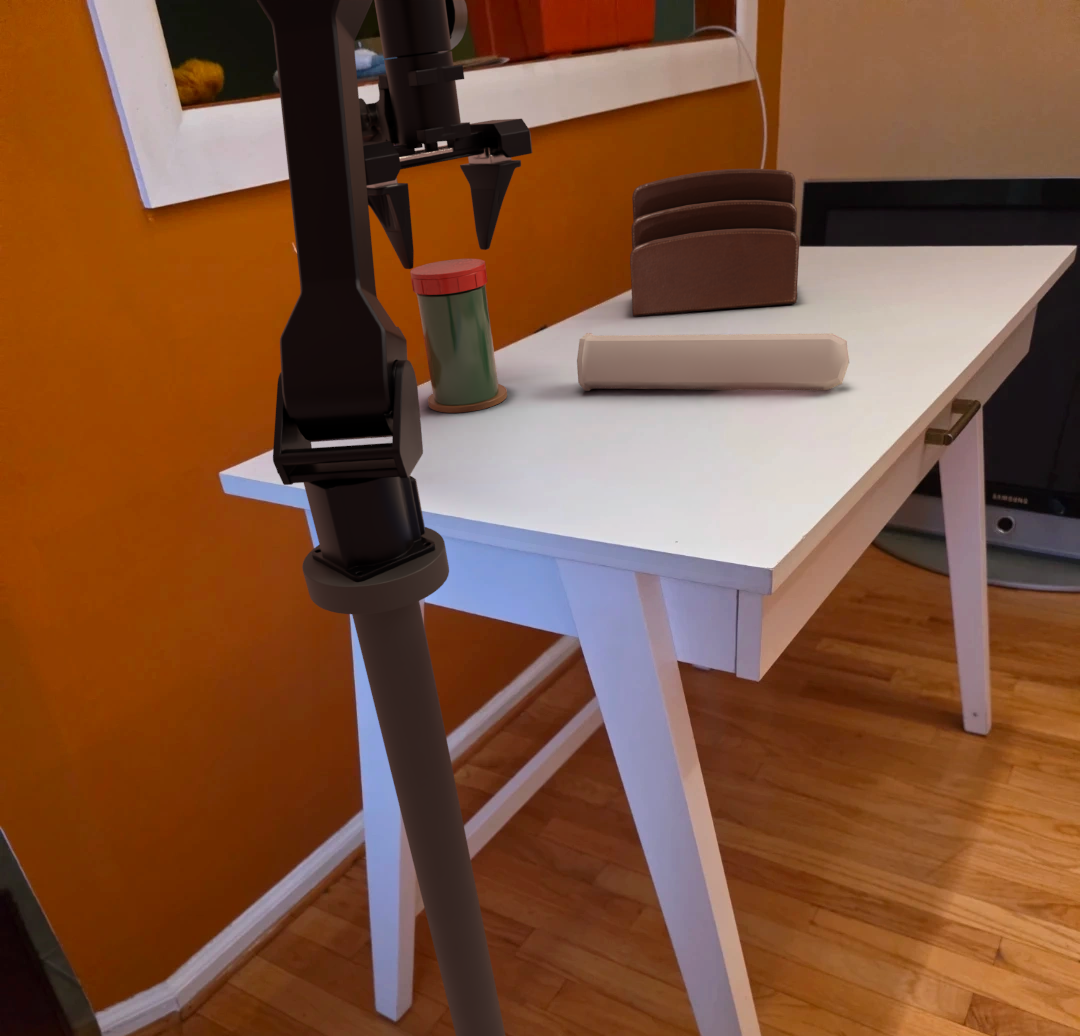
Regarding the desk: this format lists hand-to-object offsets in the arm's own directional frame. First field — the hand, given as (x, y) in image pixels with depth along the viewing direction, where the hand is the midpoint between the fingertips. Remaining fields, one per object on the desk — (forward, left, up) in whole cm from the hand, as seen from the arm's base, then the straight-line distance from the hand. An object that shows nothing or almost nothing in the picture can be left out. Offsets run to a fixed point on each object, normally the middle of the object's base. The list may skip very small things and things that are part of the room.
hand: (447, 258), depth 88 cm
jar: (0, 0, -13) cm, 13 cm away
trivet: (0, 0, -13) cm, 13 cm away
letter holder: (+43, +5, -13) cm, 45 cm away
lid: (0, 0, -1) cm, 1 cm away
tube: (+15, -19, -13) cm, 28 cm away
